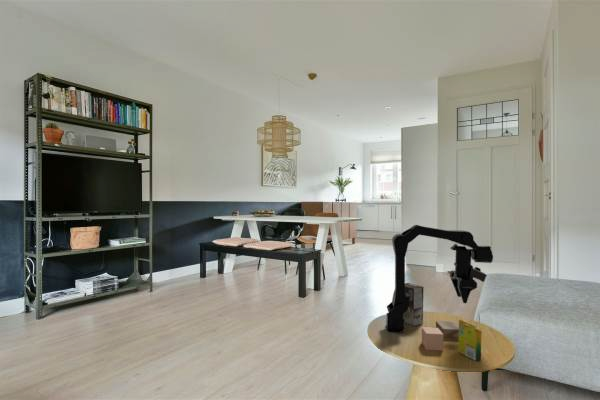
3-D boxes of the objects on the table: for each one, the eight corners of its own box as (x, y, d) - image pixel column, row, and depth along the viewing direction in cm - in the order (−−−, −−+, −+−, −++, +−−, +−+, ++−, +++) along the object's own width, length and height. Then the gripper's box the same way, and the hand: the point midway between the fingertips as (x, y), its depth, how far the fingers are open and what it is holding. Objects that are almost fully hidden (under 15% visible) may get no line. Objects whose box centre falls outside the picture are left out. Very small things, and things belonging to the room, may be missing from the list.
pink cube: (425, 349, 123) (426, 333, 123) (421, 342, 129) (421, 327, 129) (443, 350, 123) (443, 334, 123) (437, 343, 129) (438, 328, 129)
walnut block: (442, 339, 134) (443, 328, 134) (435, 330, 143) (436, 320, 143) (466, 340, 133) (466, 330, 133) (457, 331, 142) (458, 321, 142)
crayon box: (481, 359, 116) (482, 325, 116) (475, 361, 115) (475, 326, 115) (464, 350, 123) (464, 318, 123) (457, 351, 122) (458, 319, 122)
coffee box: (423, 323, 150) (424, 286, 150) (413, 325, 146) (414, 288, 146) (407, 317, 157) (408, 282, 157) (397, 319, 154) (398, 283, 154)
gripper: (492, 267, 127) (491, 308, 127) (477, 259, 145) (476, 295, 145) (460, 265, 129) (459, 306, 129) (450, 257, 148) (448, 293, 148)
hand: (461, 299), depth 138 cm, fingers open, 9 cm apart
